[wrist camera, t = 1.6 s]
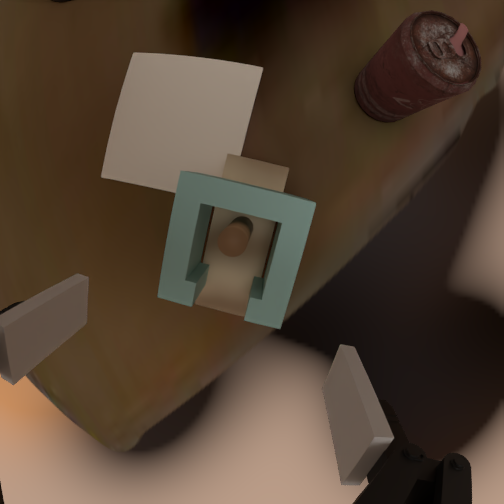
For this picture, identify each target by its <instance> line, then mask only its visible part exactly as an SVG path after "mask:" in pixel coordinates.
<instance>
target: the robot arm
mask: <svg viewBox="0 0 504 504" xmlns="http://www.w3.org/2000/svg"><path fill="white" fill-rule="evenodd" d="M52 1H55V2H64V1H69V0H52ZM88 285H89V277H87V276H84V275H81V274H78V273H77V274H75V275H73V276H71V277H69V278H68V279H66V280H64V281H62V282H60V283H58V284H56V285H54V286H52V287H50V288H48V289H47V290H45V291H43V292H41V293H39V294H37V295H35V296H33V297H32V298H30V299H28V300H26V301H21V302H17V303H14V304H12V305H10V306H8V307H7V308H5V309H3V310H2V311H0V374H1V377H2V378H3V379H5V380H6V381H8V382H10V383H11V384H12V385H14V384H16V383H17V382H18V381H19V380H20V379H21V378H22V377H24V376H25V375H26V374H27V373H28V372H29V371H31V370H32V369H33V368H34V367H35V366H36V365H38V364H39V363H40V362H41V361H42V360H43V359H45V358H46V357H47V356H48V355H49V354H50V353H52V352H53V351H54V350H55V349H56V348H58V347H59V346H60V345H61V344H62V343H64V342H65V341H66V340H67V339H68V338H70V337H71V336H72V335H73V334H75V333H76V332H77V331H78V330H79V329H81V328H82V327H83V326H84V325H86V324H87V303H88ZM322 390H323V395H324V399H325V404H326V409H327V413H328V419H329V423H330V428H331V434H332V439H333V444H334V449H335V454H336V459H337V464H338V470H339V475H340V481H341V485H360V484H361V483H362V481H363V480H364V479H365V478H366V476H367V479H368V483H369V484H368V485H367V487H366V488H365V489H364V490H363V491H362V493H361V494H360V495H359V496H358V497H357V499H356V500H355V502H354V503H353V504H472V481H471V480H472V479H471V466H470V463H469V461H468V460H467V459H466V458H465V457H464V456H462V455H460V454H458V453H449V454H447V455H446V456H445V457H444V458H443V460H442V461H438V460H433V459H429V458H427V457H426V454H425V452H424V451H423V450H422V449H421V448H420V447H419V446H417V445H415V444H412V443H409V441H408V439H407V437H406V435H405V432H404V430H403V428H402V426H401V424H400V423H399V419H398V417H396V416H397V415H396V413H395V411H394V409H393V407H392V406H391V405H390V404H389V403H388V402H387V401H386V400H379V399H378V398H377V396H376V394H375V392H374V389H373V387H372V385H371V383H370V380H369V378H368V376H367V374H366V371H365V369H364V367H363V365H362V363H361V361H360V358H359V356H358V354H357V352H356V350H355V347H352V346H347V345H341V344H340V346H339V349H338V352H337V354H336V356H335V359H334V361H333V364H332V366H331V369H330V371H329V373H328V376H327V378H326V380H325V383H324V385H323V387H322ZM0 504H4V501H3V495H2V489H1V483H0Z"/></svg>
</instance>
